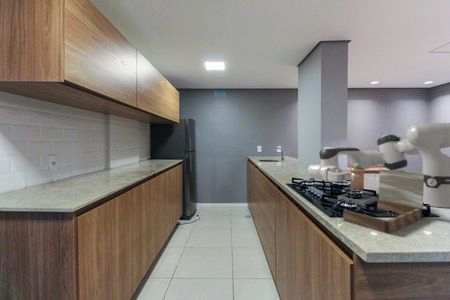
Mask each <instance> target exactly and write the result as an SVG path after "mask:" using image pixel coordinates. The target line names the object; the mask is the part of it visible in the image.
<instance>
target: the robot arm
mask: <svg viewBox="0 0 450 300" xmlns="http://www.w3.org/2000/svg"><path fill="white" fill-rule="evenodd" d="M401 138H402V137H400V136H397V135H396V134H384V135H382V136H380V137H379V138H378V139H377V141H376V142H377V146H378V149H379V150H376V149H372V150H371V149H370V150H369V149H368V150H364V151H363V150H362V151H361V149H359V148H357V147H333V146H325V147H323V148H321V149H320V151H319V152H318V153H319V159H320V164H315V163H314V164H309V165H308V167H307V175H308V177H309V178H310V179H314V180H318V181H324V182H326V183H327V182H328V183H338V182H342V181H344V182H345V181H349V180H355V179H356V177H355V176H351V171H350V169H344V170H342V169H341V168H340V165H339V156H340V155H346V156H347V157H348V160H349V162H350V164H351V165H352V166H353V167H354V165H355V164H356V163H359V164H360V165H361V167H360V168H364V169H365V170H369V169H372V168H374V167H377V166H380V165H383V166H382V168H386V170H392V171H402V170H403V169H405V168H406V167H407V166H408V159H407V158H406V155H409V156H410V155H411V156H413V155H414V156H415V155H420V157H421V164H422V169H421V171H422V172H421V174H424V187H423V203H424V204H429V205H430V207H435V208H448V209H450V156H449V155H447V154H445V153H443V152H442V151H441V149H446V148H450V122H424V123H416V124H413V125H410V127H409V128H408V129H407V131H406V138H404V139H401ZM405 154H406V155H405ZM424 204H423V205H424ZM429 205H428V206H429Z"/></svg>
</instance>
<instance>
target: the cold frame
mask: <svg viewBox="0 0 450 300" xmlns="http://www.w3.org/2000/svg"><path fill="white" fill-rule="evenodd" d="M378 179H379V182H378V183H379V184H378V201H377V203H376V205H377V206H376V207H377V210H381V211H386V212H389V211H392V212H391V213H393V212H395V213H394V214H397V213H398V215H397V216H395V217H393V218H390V219H388V220H385V219H381V218H378V217H374V216H370V215H366V214H363V213H362V214H361V213H359V212H358V213H357V212H355V211H351V210H346V209H344V210H343V212H342V213H343V216H342V217H343V219H342V220H343V221H344V222H347V223H351V224H354V225H357V226H360V227H363V228H368V229H371V230H374V231H377V232H381V233H384V234H388V235H390V234H391V233H394V232H395V231H398V230H400V229H401V228H403V227H406V226H408V225H410V224H412V223H415V222H416V221H419V220H422V218H423V217H422V216H423V208H424V207H423V205H424V204H423V187H424V174H422V172H421V173H420V172H413V171H412V172H410V171H402V170H397V171H395V170H389V169H381V168H380V169H379V178H378Z"/></svg>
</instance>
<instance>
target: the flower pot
mask: <svg viewBox="0 0 450 300" xmlns="http://www.w3.org/2000/svg"><path fill="white" fill-rule="evenodd" d="M360 167H361V165H360V164H359V163H356V164H355V165H354V166H353V167H349V170H350V171H351V176H355V177H356V179H355V180H350V182H349V183H350V185H349V188H350V189H353V190H364V189H365V188H364V187H365V172H366V169H364V168H360Z"/></svg>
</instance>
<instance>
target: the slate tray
mask: <svg viewBox="0 0 450 300" xmlns="http://www.w3.org/2000/svg"><path fill="white" fill-rule="evenodd" d="M348 195H349V194H348V193H343V194H340V195H337V201H338V200H341V199H345V200H352V201H355V202H356V203H358V204H359V205H361V206H360V207H363V206H364V207H367V206H366V204H371V203H374V202H377V201H378V200H379V196H373V195H372V196H371V195H367V194H362V197H363V198H361V199H353V198H348V197H347V196H348ZM374 204H375V203H374ZM371 205H372V204H371Z"/></svg>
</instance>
